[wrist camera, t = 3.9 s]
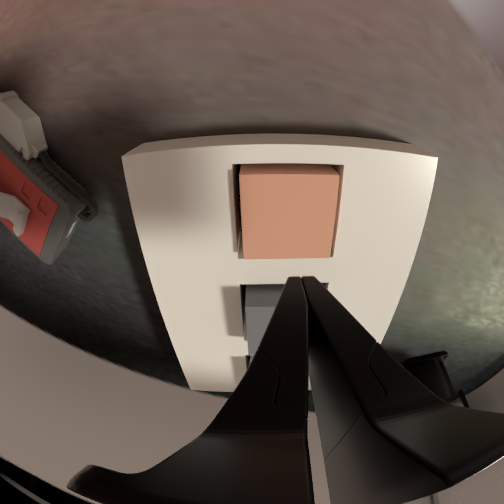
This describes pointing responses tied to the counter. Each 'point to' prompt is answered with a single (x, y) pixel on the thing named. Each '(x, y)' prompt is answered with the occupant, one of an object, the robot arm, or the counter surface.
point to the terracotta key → (288, 210)
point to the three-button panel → (269, 270)
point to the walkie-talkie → (36, 185)
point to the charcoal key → (259, 311)
